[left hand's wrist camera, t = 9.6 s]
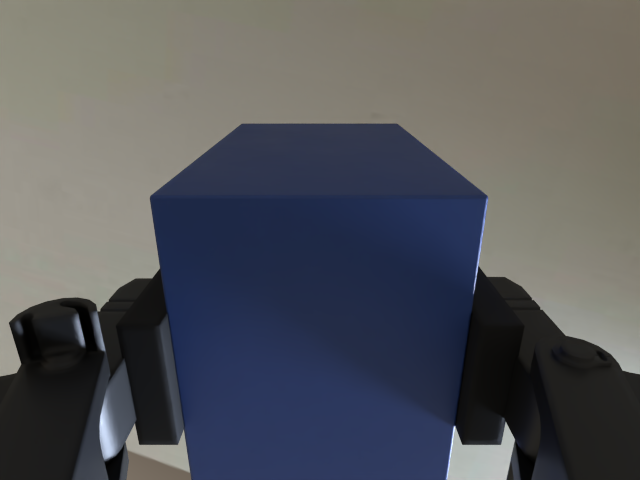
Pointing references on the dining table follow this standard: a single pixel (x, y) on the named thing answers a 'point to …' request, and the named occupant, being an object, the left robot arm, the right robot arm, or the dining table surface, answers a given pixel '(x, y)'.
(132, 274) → the dining table surface
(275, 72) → the dining table surface
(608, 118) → the dining table surface
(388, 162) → the block
